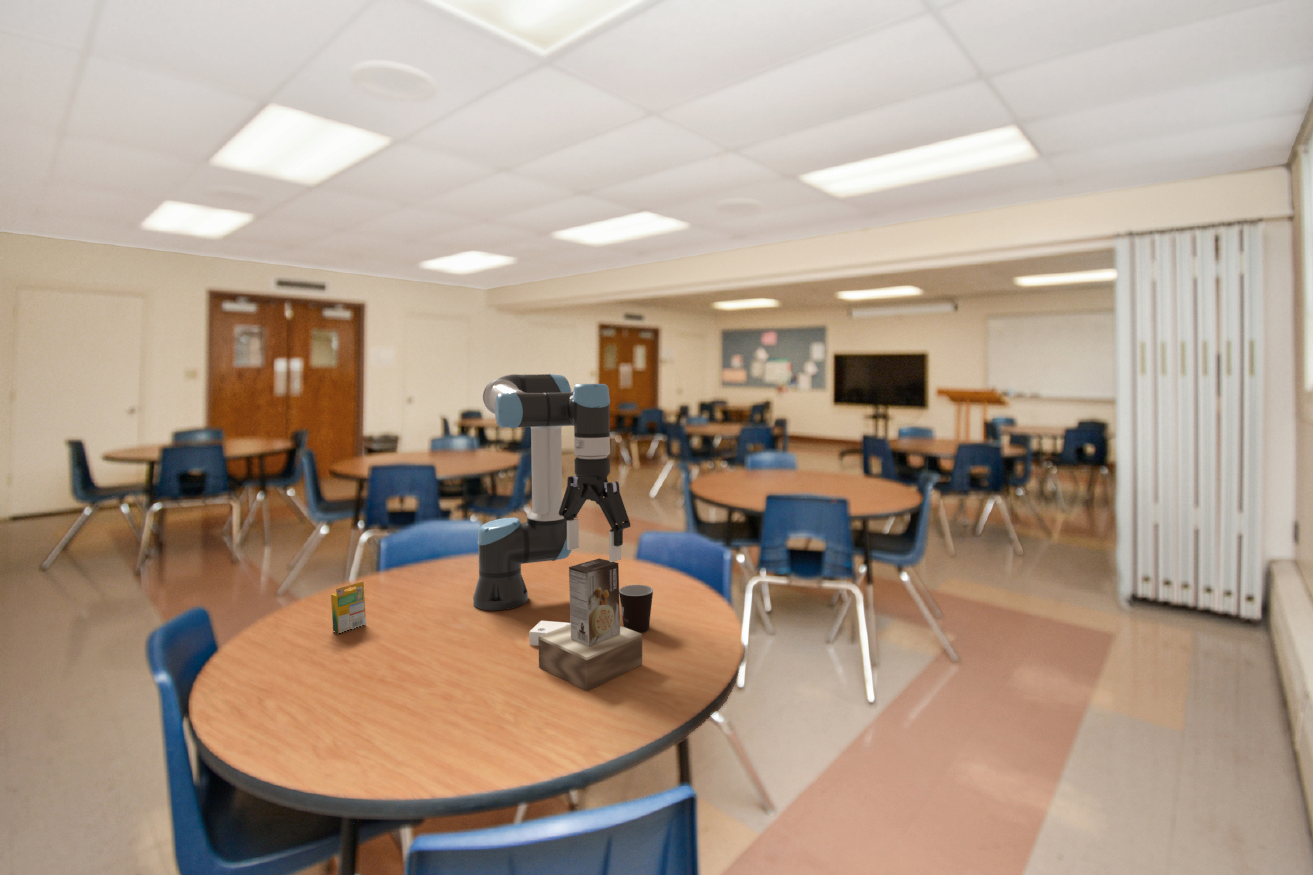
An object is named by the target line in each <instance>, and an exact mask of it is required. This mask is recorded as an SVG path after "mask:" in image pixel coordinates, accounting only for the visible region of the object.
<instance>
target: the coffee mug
mask: <svg viewBox="0 0 1313 875" xmlns="http://www.w3.org/2000/svg"><path fill="white" fill-rule="evenodd" d="M653 593H654V588H653V587H651V586H648V585H644V584H628V585H624V586H622V587H619V604H620V609H621V616H622V624H623V625H622V627H625V628H628V629H630V630H633V631H636V632H638V633H641V634H644V633H647V632H648V631H649V630H650V623H651V612H652V604H653V595H654V594H653Z"/></svg>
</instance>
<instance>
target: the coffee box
mask: <svg viewBox="0 0 1313 875" xmlns="http://www.w3.org/2000/svg"><path fill="white" fill-rule="evenodd" d="M619 565H620V564H619V562H617V561H615V562H609V559H603V558H595V559H593V560H589V561H585V562H581V563H578V564H575V565H571V566H568V578H569V580H568V582H569V608H570V609H569V612H570V614H569V616H570V617H569V618H570V620H571V639H573V640H575V641H578V642H580V643H583V644H585V645H587V646H592V645H594V644H597V643H599V642H601V641H604V640H606V639H608V638H611V637H613V636H616V635H618V634H620V626H621V621H620V620H621V619H620V617H621V613H620V609H621V607H620V595H619V589H620V578H619V577H620V574H619V573H620V572H619ZM570 620H569V621H570Z"/></svg>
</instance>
